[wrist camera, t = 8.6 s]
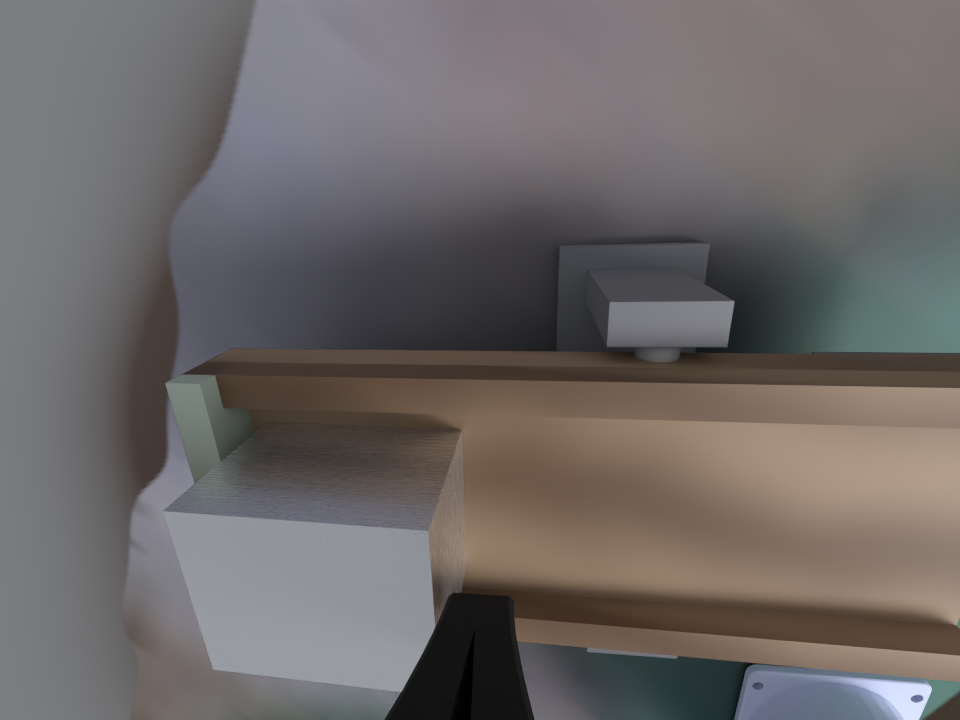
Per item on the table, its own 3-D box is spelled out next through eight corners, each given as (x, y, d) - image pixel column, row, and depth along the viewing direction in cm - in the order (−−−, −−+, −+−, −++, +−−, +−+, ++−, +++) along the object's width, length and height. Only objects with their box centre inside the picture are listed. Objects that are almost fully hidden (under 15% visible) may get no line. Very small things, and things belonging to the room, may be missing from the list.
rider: (466, 564, 15) (440, 696, 11) (294, 550, 16) (213, 669, 12) (461, 430, 13) (428, 530, 9) (268, 421, 14) (162, 511, 10)
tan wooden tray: (878, 585, 17) (988, 715, 13) (305, 546, 19) (241, 641, 15) (970, 323, 13) (1161, 385, 9) (257, 322, 16) (160, 368, 12)
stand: (662, 557, 21) (704, 677, 16) (551, 551, 21) (557, 665, 16) (704, 241, 16) (784, 267, 11) (559, 245, 17) (570, 271, 11)
